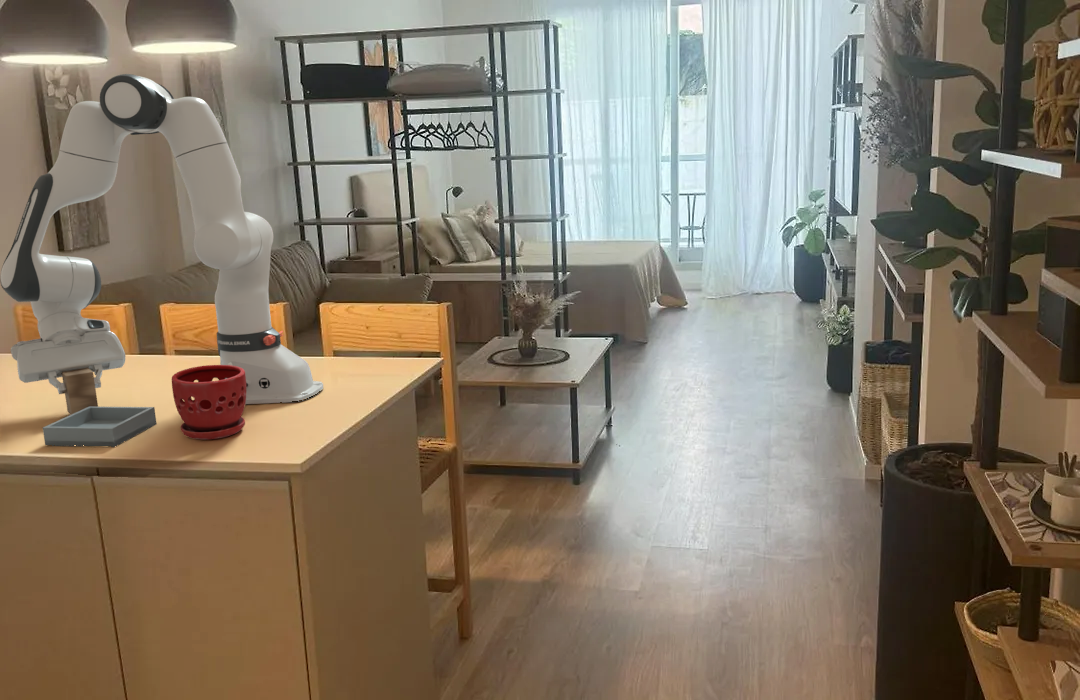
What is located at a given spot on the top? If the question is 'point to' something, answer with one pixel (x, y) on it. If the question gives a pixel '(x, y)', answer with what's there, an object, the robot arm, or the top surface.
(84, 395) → the walnut block
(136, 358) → the top surface
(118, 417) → the tray
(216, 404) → the plant pot
